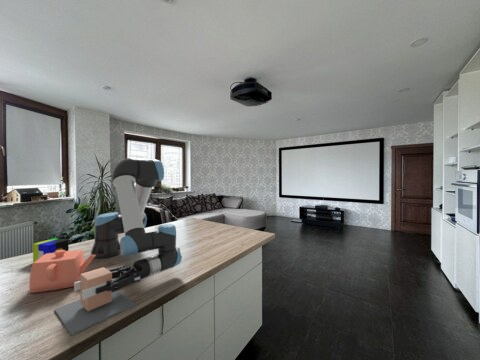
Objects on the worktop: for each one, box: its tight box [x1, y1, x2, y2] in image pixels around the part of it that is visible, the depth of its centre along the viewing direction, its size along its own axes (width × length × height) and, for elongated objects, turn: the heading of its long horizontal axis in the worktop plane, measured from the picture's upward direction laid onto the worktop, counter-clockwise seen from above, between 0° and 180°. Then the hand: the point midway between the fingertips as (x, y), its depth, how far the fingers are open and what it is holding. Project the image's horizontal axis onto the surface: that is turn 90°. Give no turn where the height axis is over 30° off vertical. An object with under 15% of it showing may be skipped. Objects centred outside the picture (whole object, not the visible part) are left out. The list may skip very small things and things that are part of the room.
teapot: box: [28, 249, 96, 294], centre depth 88 cm, size 20×22×14 cm
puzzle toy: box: [32, 238, 69, 264], centre depth 111 cm, size 10×10×10 cm
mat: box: [54, 290, 136, 336], centre depth 71 cm, size 18×18×1 cm
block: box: [79, 266, 113, 311], centre depth 71 cm, size 7×7×10 cm
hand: (78, 290), depth 67 cm, fingers closed on block, 7 cm apart
